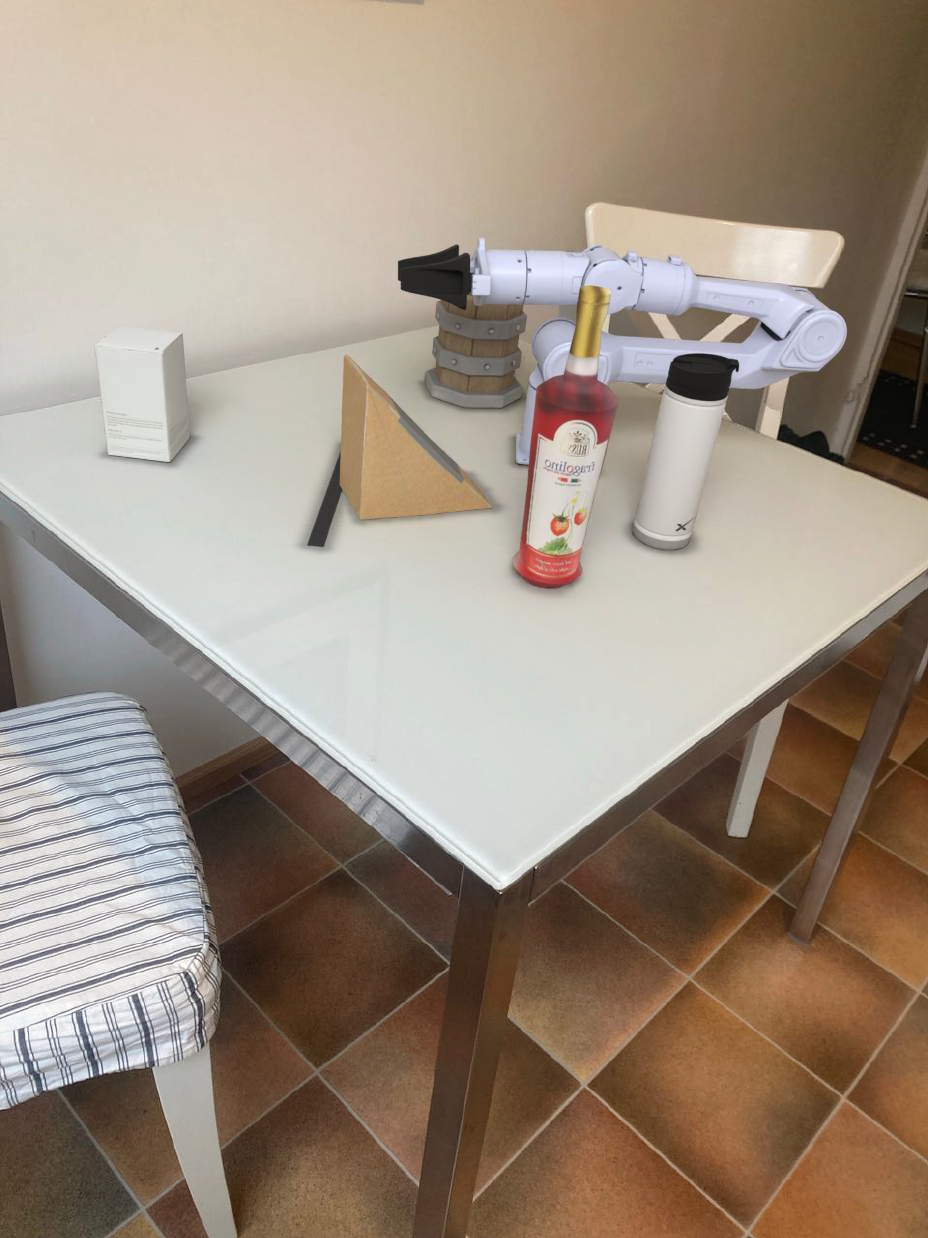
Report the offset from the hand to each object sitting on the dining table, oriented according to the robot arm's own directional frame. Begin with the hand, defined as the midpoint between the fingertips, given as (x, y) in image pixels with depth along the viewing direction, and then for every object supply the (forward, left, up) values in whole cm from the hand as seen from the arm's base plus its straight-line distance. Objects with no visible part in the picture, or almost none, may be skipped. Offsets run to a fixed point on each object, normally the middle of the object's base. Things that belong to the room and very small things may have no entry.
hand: (399, 274), depth 108 cm
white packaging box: (+27, +7, -21) cm, 34 cm away
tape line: (+5, +13, -20) cm, 25 cm away
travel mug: (-31, +15, -20) cm, 41 cm away
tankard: (-8, -25, -21) cm, 33 cm away
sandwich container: (-4, +12, -20) cm, 24 cm away
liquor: (-18, +26, -21) cm, 38 cm away
